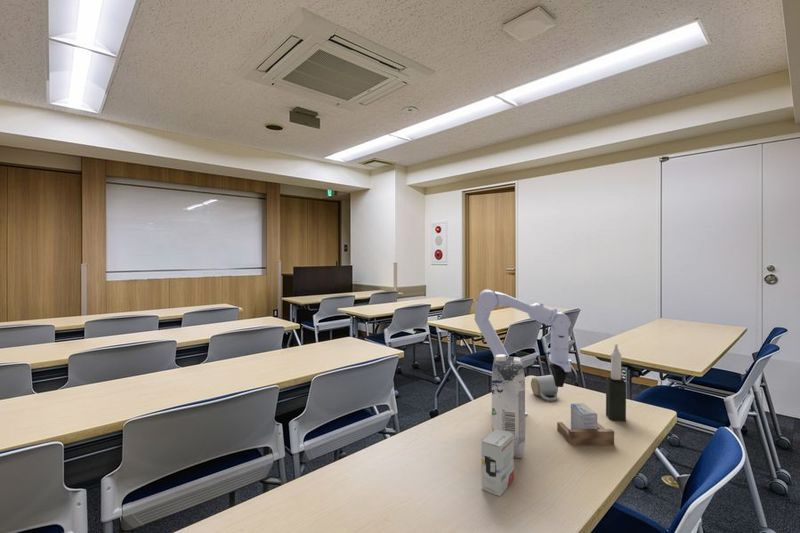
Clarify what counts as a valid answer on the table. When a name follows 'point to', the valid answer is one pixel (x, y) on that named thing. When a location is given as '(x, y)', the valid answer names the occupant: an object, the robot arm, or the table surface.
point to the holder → (587, 435)
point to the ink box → (497, 461)
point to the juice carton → (509, 399)
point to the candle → (616, 390)
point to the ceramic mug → (544, 387)
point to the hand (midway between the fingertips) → (559, 386)
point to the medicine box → (583, 417)
